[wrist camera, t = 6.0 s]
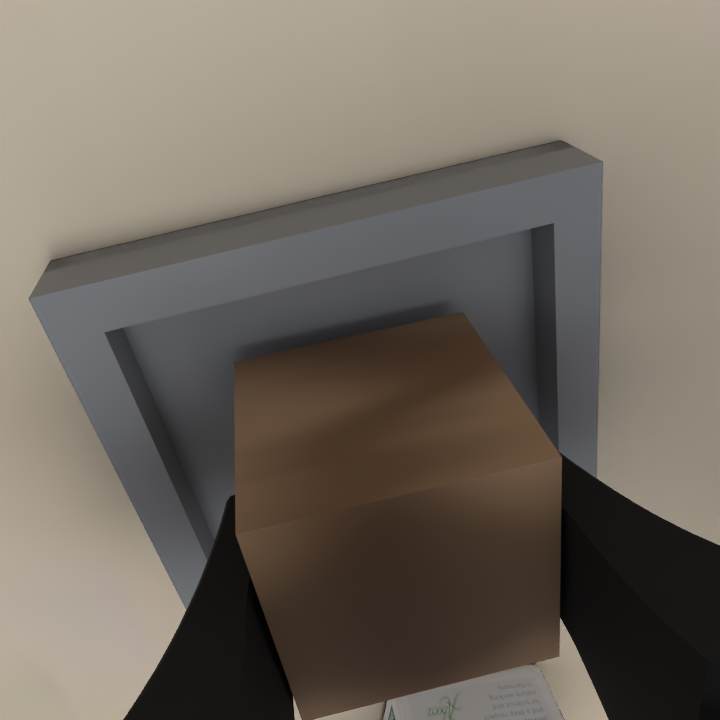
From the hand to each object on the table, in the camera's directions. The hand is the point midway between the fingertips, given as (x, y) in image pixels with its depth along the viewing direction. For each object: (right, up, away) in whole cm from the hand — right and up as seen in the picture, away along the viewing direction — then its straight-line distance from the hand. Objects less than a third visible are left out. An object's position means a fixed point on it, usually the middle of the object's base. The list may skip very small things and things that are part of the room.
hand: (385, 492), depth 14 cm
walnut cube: (0, +1, +1) cm, 2 cm away
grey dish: (-1, +2, +3) cm, 3 cm away
